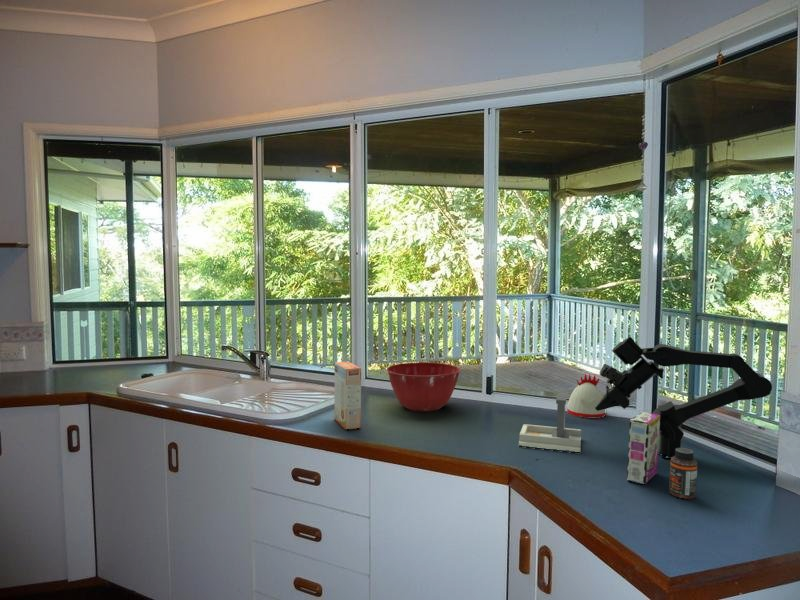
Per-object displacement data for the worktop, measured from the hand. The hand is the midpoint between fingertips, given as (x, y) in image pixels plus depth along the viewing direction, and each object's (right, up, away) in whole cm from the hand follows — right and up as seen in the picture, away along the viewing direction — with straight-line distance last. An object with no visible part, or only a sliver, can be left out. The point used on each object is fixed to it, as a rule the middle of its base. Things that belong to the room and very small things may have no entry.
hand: (596, 409), depth 171 cm
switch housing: (-13, -11, +5) cm, 18 cm away
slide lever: (-10, -10, +4) cm, 14 cm away
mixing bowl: (-51, -8, +47) cm, 70 cm away
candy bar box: (+4, -14, -23) cm, 27 cm away
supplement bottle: (+9, -15, -34) cm, 38 cm away
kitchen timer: (+10, -9, +39) cm, 42 cm away
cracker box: (-78, -10, +24) cm, 82 cm away
